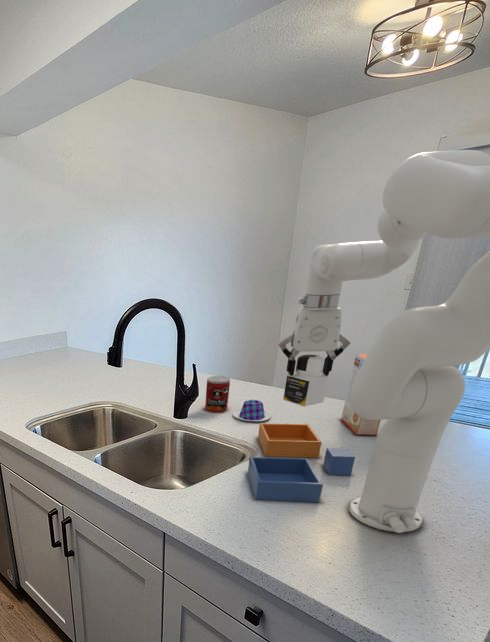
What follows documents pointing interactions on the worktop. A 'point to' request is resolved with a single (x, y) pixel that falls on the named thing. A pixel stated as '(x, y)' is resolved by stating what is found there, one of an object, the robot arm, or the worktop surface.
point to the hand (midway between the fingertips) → (307, 373)
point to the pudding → (252, 411)
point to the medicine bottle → (306, 382)
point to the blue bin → (284, 479)
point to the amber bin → (289, 440)
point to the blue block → (338, 461)
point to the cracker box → (349, 416)
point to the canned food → (217, 393)
